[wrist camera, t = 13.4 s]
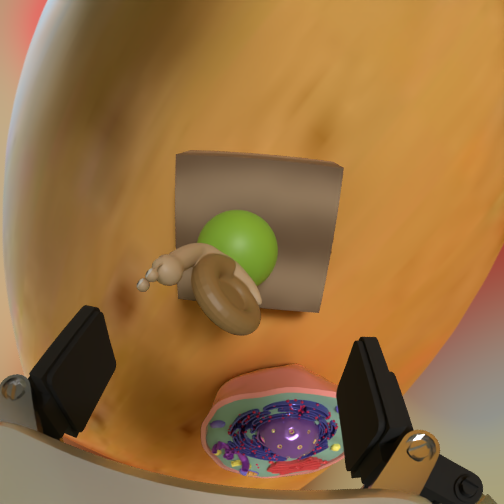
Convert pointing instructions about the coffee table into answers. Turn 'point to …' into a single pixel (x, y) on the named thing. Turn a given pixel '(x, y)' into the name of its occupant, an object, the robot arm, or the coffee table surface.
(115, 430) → the coffee table surface
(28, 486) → the robot arm
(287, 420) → the cell model
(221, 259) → the snail figurine
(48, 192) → the coffee table surface
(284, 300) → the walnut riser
